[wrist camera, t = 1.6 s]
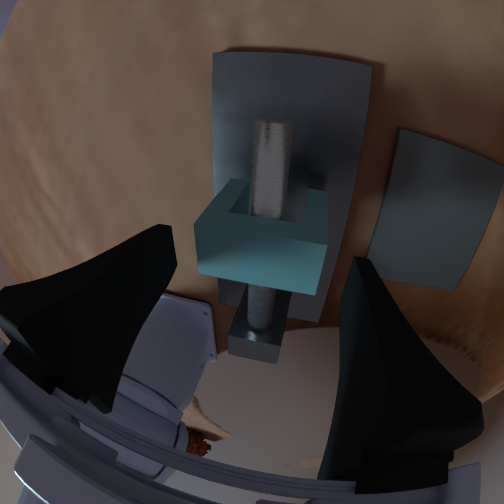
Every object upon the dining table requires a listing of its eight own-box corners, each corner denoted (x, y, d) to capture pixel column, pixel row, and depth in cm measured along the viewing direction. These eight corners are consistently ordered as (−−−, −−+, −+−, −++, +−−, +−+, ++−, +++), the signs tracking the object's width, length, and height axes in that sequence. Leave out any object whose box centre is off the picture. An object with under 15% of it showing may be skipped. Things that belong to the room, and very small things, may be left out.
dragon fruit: (182, 416, 54) (212, 429, 61) (157, 430, 54) (189, 441, 60) (191, 446, 47) (222, 455, 54) (164, 459, 47) (197, 467, 53)
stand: (318, 315, 21) (310, 385, 16) (222, 296, 23) (194, 359, 18) (370, 66, 11) (403, 59, 6) (218, 53, 12) (154, 46, 7)
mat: (452, 287, 17) (454, 291, 16) (360, 271, 18) (360, 275, 18) (504, 166, 11) (507, 168, 10) (398, 127, 12) (400, 128, 12)
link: (320, 233, 15) (315, 295, 11) (231, 219, 16) (198, 273, 12) (327, 191, 13) (327, 245, 10) (231, 178, 14) (193, 223, 10)
